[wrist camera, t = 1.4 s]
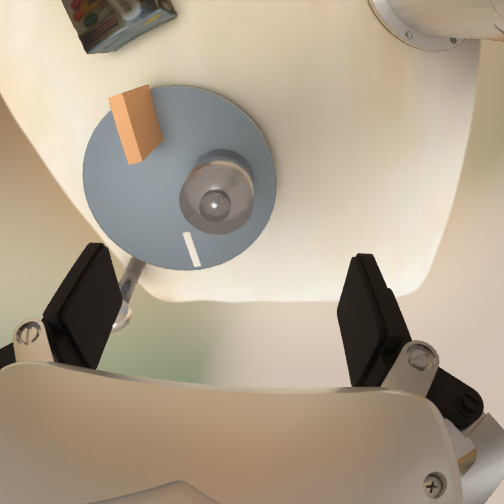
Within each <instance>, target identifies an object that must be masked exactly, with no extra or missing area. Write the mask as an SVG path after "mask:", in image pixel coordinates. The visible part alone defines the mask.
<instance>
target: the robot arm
mask: <svg viewBox="0 0 504 504" xmlns="http://www.w3.org/2000/svg"><path fill="white" fill-rule="evenodd" d="M368 1H369V4H370V6H371V7H372V9H373V11H374V13H375V15H376V16H377V17H378V19H379V20H380V21H381V23H382V24H383V25H384V26H385V27H386V28H387V29H388V30H389V31H390V32H391V33H392V34H394V35H395V36H396V37H397V38H399V39H400V40H402V41H404V42H405V43H407V44H409V45H411V46H414V47H416V48H419V49H423V50H428V51H445V50H449V49H452V48H455V47H456V46H458V45H459V44H460V43H462V42H463V40H464V39H465V38H473V39H486V40H495V41H503V42H504V0H368ZM405 33H406V34H407V37H406V36H405ZM122 302H123V298H122V294H121V291H120V288H119V284H118V281H117V278H116V274H115V271H114V268H113V264H112V260H111V257H110V253H109V249H108V248H107V247H105V245H104V244H103V243H89V244H88V245H87V246H86V248H85V249H84V251H83V252H82V253H81V255H80V256H79V258H78V259H77V261H76V262H75V264H74V265H73V267H72V268H71V270H70V271H69V273H68V274H67V276H66V277H65V279H64V280H63V282H62V283H61V285H60V287H59V288H58V290H57V292H56V293H55V295H54V296H53V298H52V300H51V301H50V303H49V304H48V306H47V308H46V310H45V311H44V313H43V316H44V317H43V318H42V320H41V321H40V320H39V319H36V318H32V319H28V320H25V321H23V322H22V323H20V324H19V325H18V326H17V328H16V329H15V331H14V334H13V343H11V344H9V345H7V346H5V347H3V348H1V349H0V504H484V503H485V502H486V501H487V499H488V498H489V497H490V496H491V495H492V493H493V492H494V491H495V489H496V488H497V487H498V486H499V484H500V483H501V482H502V480H503V479H504V430H503V428H502V427H501V426H500V425H499V424H498V423H497V421H496V420H495V419H494V418H493V417H492V416H491V415H490V413H487V414H485V413H484V412H483V409H484V406H483V401H482V398H481V396H480V395H479V394H478V392H476V391H475V390H474V389H473V388H471V387H469V386H468V385H466V384H465V383H463V382H462V381H460V380H458V379H457V378H455V377H454V376H452V375H451V374H449V373H447V372H446V371H444V370H443V369H441V368H440V367H439V356H438V354H437V352H436V350H434V348H433V347H432V346H430V345H429V344H428V343H425V342H423V341H418V340H415V341H412V339H411V336H410V334H409V331H408V329H407V326H406V323H405V321H404V318H403V316H402V313H401V311H400V308H399V306H398V303H397V301H396V299H395V296H394V294H393V292H392V290H391V289H390V288H387V286H386V283H385V281H384V279H383V276H382V274H381V272H380V269H379V267H378V265H377V263H376V260H375V258H374V256H373V254H363V253H358V254H357V255H356V257H352V259H351V262H350V265H349V269H348V273H347V276H346V280H345V284H344V287H343V291H342V294H341V297H340V301H339V305H338V308H337V317H338V322H339V326H340V331H341V336H342V340H343V345H344V350H345V355H346V360H347V365H348V370H349V376H350V381H351V385H352V387H337V388H259V387H257V388H256V387H236V386H234V387H233V386H219V385H206V384H193V383H184V382H175V381H166V380H158V379H150V378H143V377H136V376H129V375H123V374H117V373H111V372H105V371H100V370H96V368H97V366H98V364H99V361H100V358H101V356H102V353H103V350H104V348H105V345H106V343H107V340H108V338H109V335H110V333H111V330H112V328H113V325H114V323H115V321H116V318H117V316H118V313H119V311H120V309H121V306H122Z"/></svg>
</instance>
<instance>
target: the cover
mask: <svg viewBox="0 0 504 504" xmlns="http://www.w3.org/2000/svg"><path fill="white" fill-rule="evenodd" d="M253 201H254V174H253V170H252V168H251V166H250V164H249V163H248V161H247V160H246V159H245V158H244V157H243V156H241V155H240V154H238V153H236V152H234V151H231V150H226V149H217V150H212V151H209V152H207V153H205V154H203V155H202V156H201V157H199V158H198V159H197V161H196V162H195V163H194V165H193V167H192V169H191V171H190V173H189V175H188V177H187V178H186V180H185V182H184V184H183V186H182V188H181V191H180V195H179V205H180V209H181V212H182V214H183V216H184V218H185V219H186V220H187V221H188V222H189V223H190V224H191V225H192V226H193V227H194V228H196V229H198V230H200V231H202V232H204V233H208V234H213V235H223V234H228V233H231V232H234V231H236V230H238V229H239V228H241V227H242V226H243V225H244V224H245V223H246V222H247V221H248V219H249V218H250V216H251V214H252V211H253Z"/></svg>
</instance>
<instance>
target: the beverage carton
mask: <svg viewBox="0 0 504 504" xmlns="http://www.w3.org/2000/svg"><path fill="white" fill-rule="evenodd" d="M61 1H62V3H63V5H64V7H65V9H66V11H67V14H68V16H69V18H70V20H71V22H72V24H73V26H74V28H75V29H76V31H77V32H78V37H79V39H80V41H81V42H82V45H83V48H84V50H85V51H86V53H87V54H94V53H108V52H111V51H116V50H118V49H119V48H121V47H122V46H123V45H125V44H127V43H128V42H130V41H131V40H133V39H135V38H136V37H138V36H140V35H142V34H144V33H145V32H147V31H149V30H151V29H153V28H155V27H157V26H158V25H160V24H163V23H165V22H167V21H169V20H171V19H172V18H174V17H176V16H177V14H176V12H175V10H174V8H173V6H172V4H171V2H170V0H61Z"/></svg>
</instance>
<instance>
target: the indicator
mask: <svg viewBox="0 0 504 504" xmlns="http://www.w3.org/2000/svg"><path fill="white" fill-rule="evenodd" d="M144 266H145V262H143V261H141V260H139V259H137V258H135V257H132V258H131V260H130V262H129V264H128V266H127V268H126V270H125V272H124V274H123V276H122V278H121V280H120V282H119V288H120V291H121V294H122V298H123V302H122V306H121V309H120V311H119V313H118V316H117V318H116V321H115V323H114V325H113V328H112V330H111V332H116V331H119V330H120V329H122V328H124V327H125V326H126V325H127V324H128V323H129V321H130V320H131V317H132V311H131V309H130V308H129V306H128V303H129V300H130V298H131V296H132V293H133V291H134V289H135V286H136V284H137V282H138V279H139V277H140V275H141V272H142V270H143V268H144Z"/></svg>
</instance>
